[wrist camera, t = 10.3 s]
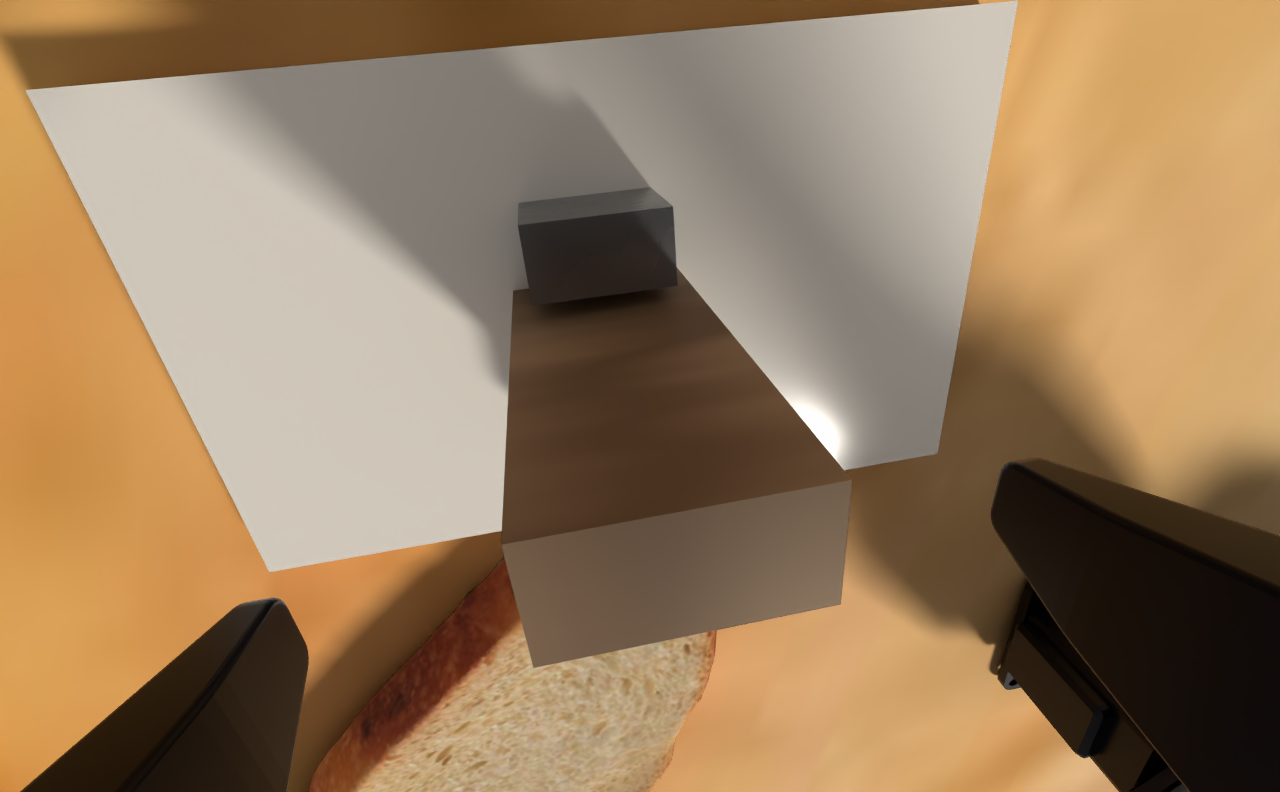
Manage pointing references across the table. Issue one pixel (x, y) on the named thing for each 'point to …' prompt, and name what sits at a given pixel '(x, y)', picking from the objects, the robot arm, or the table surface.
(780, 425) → the brown wooden beam
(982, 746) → the table surface
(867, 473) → the table surface
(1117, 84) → the table surface
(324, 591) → the table surface
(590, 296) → the dark grey brushed block
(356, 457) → the light grey flat slab
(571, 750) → the bread slice
